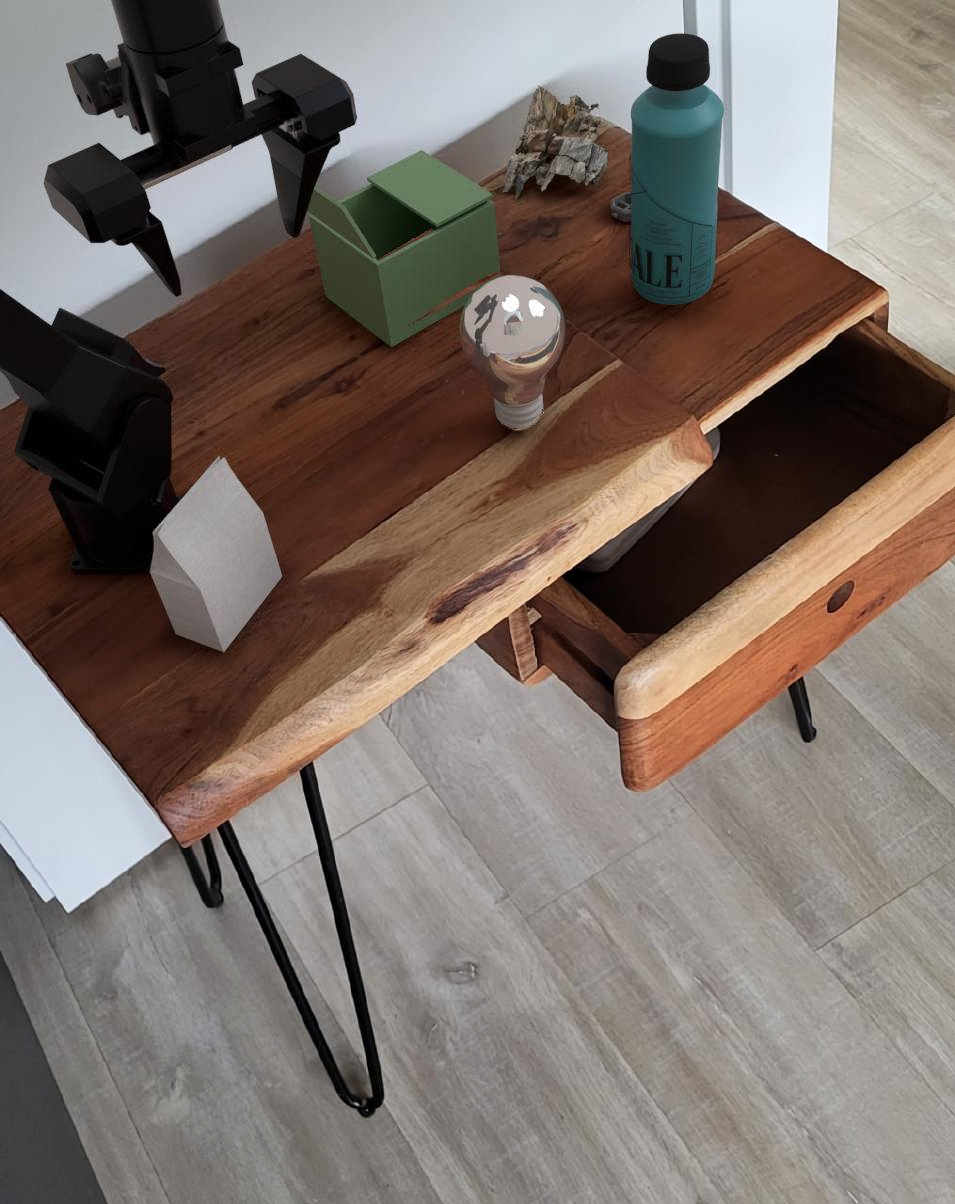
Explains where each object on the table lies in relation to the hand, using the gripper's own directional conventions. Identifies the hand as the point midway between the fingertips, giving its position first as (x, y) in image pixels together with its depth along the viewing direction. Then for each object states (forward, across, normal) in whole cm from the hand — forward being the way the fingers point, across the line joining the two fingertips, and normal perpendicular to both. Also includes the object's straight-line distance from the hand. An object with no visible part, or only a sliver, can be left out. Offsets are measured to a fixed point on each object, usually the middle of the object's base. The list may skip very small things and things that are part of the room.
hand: (235, 263), depth 86 cm
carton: (+13, -16, -5) cm, 21 cm away
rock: (+13, -38, -8) cm, 41 cm away
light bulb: (+13, -12, +13) cm, 22 cm away
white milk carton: (+13, +12, +14) cm, 22 cm away
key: (+12, -39, -2) cm, 41 cm away
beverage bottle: (+13, -30, +10) cm, 34 cm away
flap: (+2, -10, -5) cm, 11 cm away
